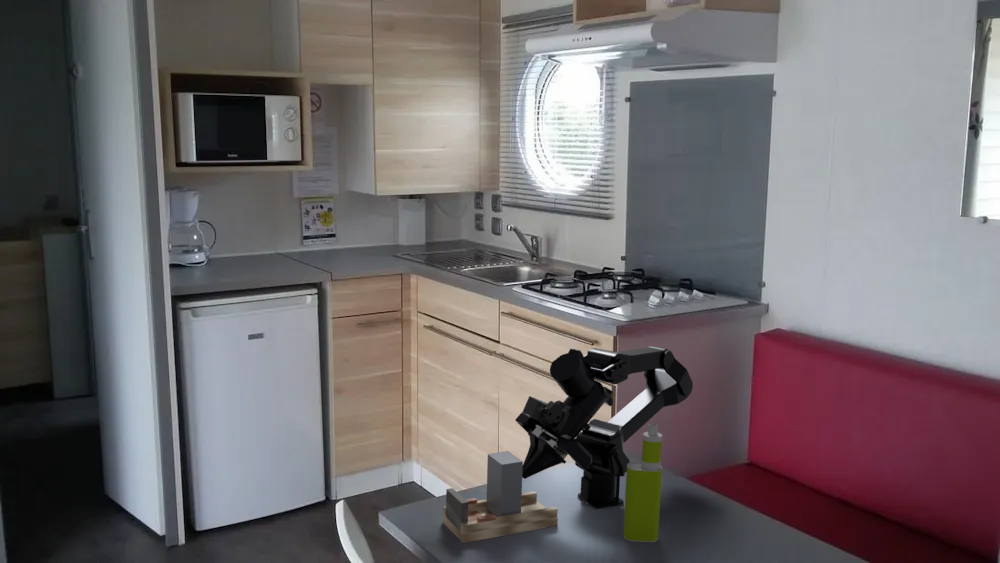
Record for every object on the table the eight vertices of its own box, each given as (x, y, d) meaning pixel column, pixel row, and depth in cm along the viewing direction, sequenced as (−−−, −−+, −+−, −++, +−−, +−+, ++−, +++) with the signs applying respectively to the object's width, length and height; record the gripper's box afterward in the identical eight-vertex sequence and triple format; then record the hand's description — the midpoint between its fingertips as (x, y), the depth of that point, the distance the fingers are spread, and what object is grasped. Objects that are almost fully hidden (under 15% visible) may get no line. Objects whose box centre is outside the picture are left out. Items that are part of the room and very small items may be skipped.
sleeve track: (533, 506, 162) (534, 472, 161) (557, 525, 154) (558, 490, 153) (442, 522, 154) (443, 486, 153) (463, 543, 146) (464, 506, 145)
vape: (660, 542, 148) (666, 428, 145) (624, 541, 149) (630, 427, 146) (657, 532, 152) (663, 421, 149) (622, 531, 152) (628, 420, 149)
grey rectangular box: (506, 504, 157) (508, 451, 156) (520, 516, 152) (522, 461, 151) (486, 508, 156) (487, 453, 154) (500, 520, 151) (501, 464, 149)
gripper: (526, 368, 162) (470, 433, 159) (580, 395, 146) (519, 467, 143) (561, 405, 167) (508, 469, 164) (617, 435, 151) (559, 506, 147)
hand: (521, 476), depth 154 cm, fingers closed
